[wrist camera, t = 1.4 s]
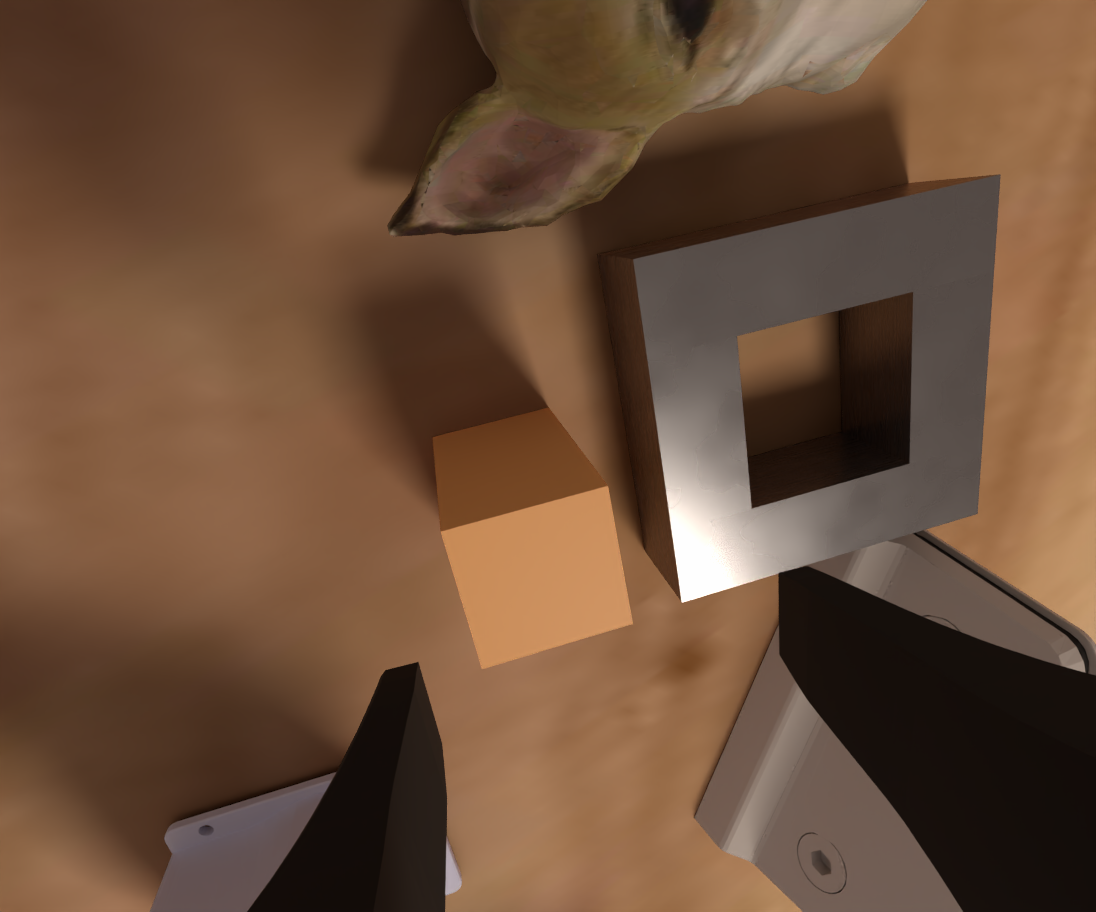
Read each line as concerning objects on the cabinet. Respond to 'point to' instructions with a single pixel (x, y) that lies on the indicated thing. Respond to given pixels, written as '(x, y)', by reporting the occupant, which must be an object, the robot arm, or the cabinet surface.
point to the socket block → (866, 378)
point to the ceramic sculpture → (617, 93)
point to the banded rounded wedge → (826, 765)
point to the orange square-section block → (528, 536)
